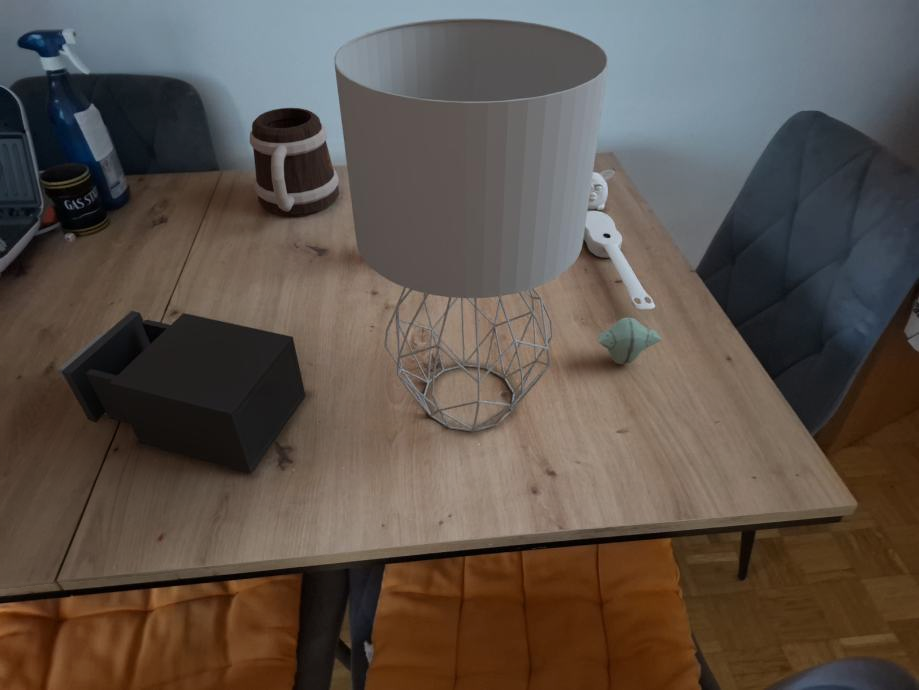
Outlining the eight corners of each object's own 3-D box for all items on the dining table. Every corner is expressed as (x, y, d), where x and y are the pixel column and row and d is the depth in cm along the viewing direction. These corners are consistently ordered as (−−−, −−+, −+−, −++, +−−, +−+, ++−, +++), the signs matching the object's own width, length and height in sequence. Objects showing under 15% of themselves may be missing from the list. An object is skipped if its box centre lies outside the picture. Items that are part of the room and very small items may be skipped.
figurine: (569, 213, 113) (573, 179, 109) (561, 196, 118) (565, 162, 114) (613, 211, 114) (619, 176, 110) (603, 194, 119) (608, 160, 114)
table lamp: (338, 404, 77) (276, 58, 51) (456, 317, 90) (455, 6, 64) (482, 503, 66) (496, 128, 40) (593, 388, 80) (658, 48, 53)
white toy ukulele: (662, 322, 90) (667, 306, 88) (623, 325, 89) (626, 309, 87) (604, 222, 111) (607, 208, 109) (572, 224, 110) (574, 209, 108)
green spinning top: (594, 373, 82) (602, 332, 77) (588, 352, 85) (595, 312, 80) (656, 371, 82) (667, 330, 78) (647, 350, 85) (657, 310, 81)
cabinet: (139, 443, 73) (109, 383, 66) (204, 371, 82) (183, 312, 76) (251, 474, 69) (230, 414, 63) (306, 396, 78) (293, 336, 72)
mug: (267, 180, 123) (250, 102, 113) (345, 179, 123) (335, 101, 113) (242, 234, 108) (220, 149, 98) (331, 233, 108) (318, 148, 98)
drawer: (58, 412, 75) (29, 363, 70) (124, 351, 83) (102, 304, 78) (187, 447, 71) (166, 398, 66) (243, 380, 79) (228, 331, 74)
